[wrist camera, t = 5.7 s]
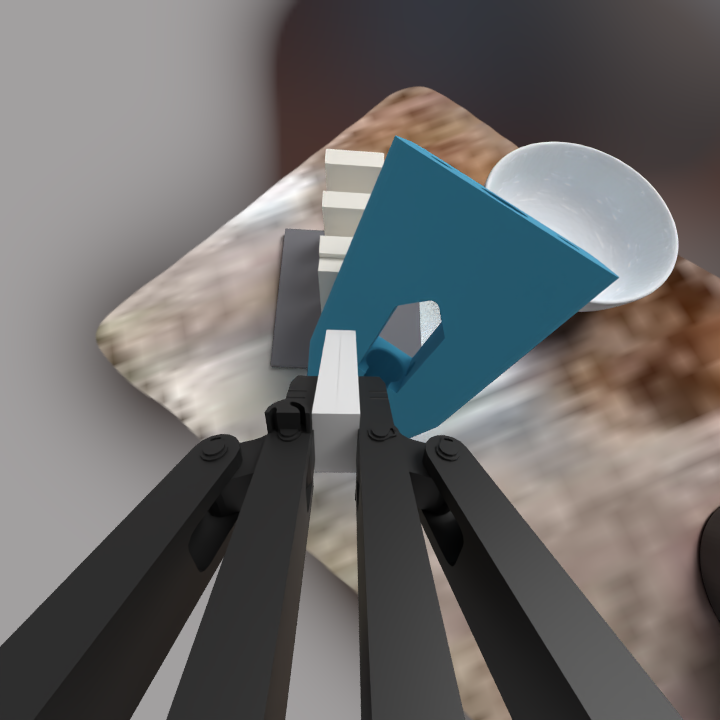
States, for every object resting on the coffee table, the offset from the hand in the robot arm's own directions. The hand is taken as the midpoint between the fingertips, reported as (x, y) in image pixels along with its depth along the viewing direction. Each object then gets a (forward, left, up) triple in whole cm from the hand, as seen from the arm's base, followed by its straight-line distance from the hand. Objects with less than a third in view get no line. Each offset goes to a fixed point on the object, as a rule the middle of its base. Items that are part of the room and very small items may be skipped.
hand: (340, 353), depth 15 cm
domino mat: (+11, -1, -14) cm, 18 cm away
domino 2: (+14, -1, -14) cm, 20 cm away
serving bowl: (+19, -25, -15) cm, 34 cm away
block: (-2, -1, -13) cm, 13 cm away
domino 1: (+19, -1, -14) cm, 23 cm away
